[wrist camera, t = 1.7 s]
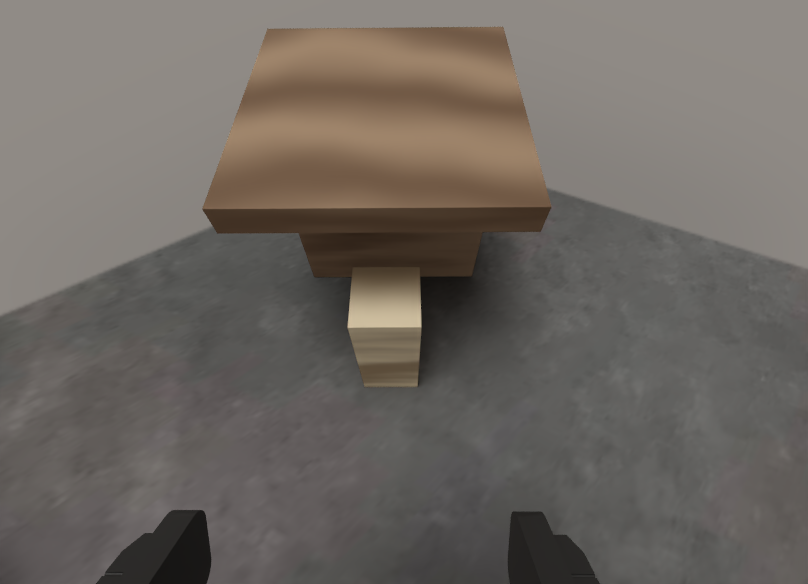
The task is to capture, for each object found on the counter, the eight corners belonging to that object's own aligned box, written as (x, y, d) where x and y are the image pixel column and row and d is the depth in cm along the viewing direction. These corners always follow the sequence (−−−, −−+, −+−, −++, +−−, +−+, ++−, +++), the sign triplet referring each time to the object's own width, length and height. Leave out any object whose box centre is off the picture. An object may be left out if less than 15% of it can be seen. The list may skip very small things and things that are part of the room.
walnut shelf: (481, 367, 31) (551, 206, 16) (301, 367, 31) (202, 209, 16) (466, 224, 38) (503, 26, 23) (321, 225, 38) (267, 28, 24)
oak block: (417, 386, 30) (421, 327, 21) (364, 387, 30) (347, 327, 21) (416, 338, 32) (419, 266, 24) (367, 338, 32) (352, 267, 24)
